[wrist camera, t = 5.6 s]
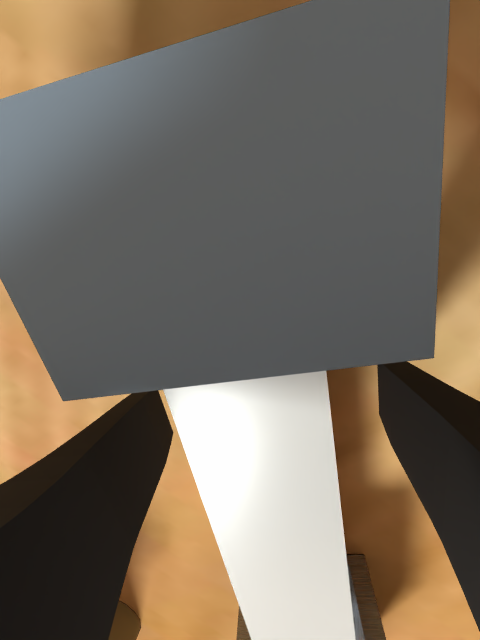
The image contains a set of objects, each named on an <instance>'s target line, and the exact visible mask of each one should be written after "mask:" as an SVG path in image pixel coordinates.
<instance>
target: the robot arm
mask: <svg viewBox="0 0 480 640" xmlns="http://www.w3.org/2000/svg"><path fill="white" fill-rule="evenodd" d="M378 393H379V415H380V417H381V420H382V423H383V425H384V428H385V431H386V433H387V436H388V438H389V441H390V443H391V446H392V447H393V449H394V451H395V453H396V455H397V457H398V459H399V461H400V463H401V465H402V467H403V468H404V470H405V472H406V474H407V476H408V478H409V480H410V482H411V483H412V485H413V487H414V489H415V491H416V493H417V495H418V496H419V498H420V500H421V502H422V504H423V506H424V508H425V510H426V511H427V513H428V515H429V517H430V519H431V521H432V523H433V525H434V527H435V529H436V531H437V533H438V535H439V537H440V539H441V541H442V543H443V546H444V548H445V550H446V553H447V555H448V557H449V560H450V562H451V564H452V567H453V569H454V571H455V574H456V576H457V578H458V581H459V583H460V585H461V588H462V590H463V592H464V595H465V597H466V600H467V602H468V605H469V607H470V609H471V612H472V614H473V617H474V619H475V621H476V624H477V626H478V629H479V631H480V401H478V400H476V399H474V398H472V397H470V396H468V395H466V394H464V393H462V392H460V391H459V390H457V389H455V388H453V387H451V386H449V385H448V384H446V383H444V382H442V381H440V380H439V379H437V378H435V377H433V376H432V375H430V374H428V373H426V372H424V371H423V370H421V369H419V368H418V367H416V366H414V365H412V364H410V363H409V362H407V361H404V362H396V363H387V364H379V365H378ZM172 436H173V430H172V428H171V425H170V422H169V419H168V417H167V414H166V411H165V408H164V405H163V403H162V400H161V397H160V394H159V392H158V390H155V391H147V392H138V393H132V394H130V395H129V396H127V397H126V398H125V399H123V400H122V401H121V402H119V403H118V404H117V405H115V406H114V407H113V408H111V409H110V410H109V411H107V412H106V413H105V414H104V415H102V416H101V417H100V418H98V419H97V420H96V421H94V422H93V423H92V424H90V425H89V426H88V427H86V428H85V429H84V430H82V431H81V432H79V433H78V434H77V435H75V436H74V437H73V438H71V439H70V440H68V441H67V442H66V443H64V444H63V445H61V446H60V447H59V448H57V449H56V450H54V451H53V452H52V453H50V454H49V455H47V456H46V457H44V458H43V459H41V460H40V461H38V462H36V463H35V464H33V465H32V466H30V467H29V468H27V469H25V470H24V471H22V472H21V473H19V474H17V475H16V476H14V477H13V478H11V479H9V480H8V481H6V482H4V483H2V484H1V485H0V640H109V636H110V632H111V628H112V624H113V620H114V616H115V613H116V609H117V605H118V601H119V597H120V594H121V590H122V586H123V583H124V579H125V576H126V572H127V569H128V566H129V562H130V559H131V555H132V552H133V548H134V546H135V543H136V540H137V537H138V534H139V531H140V529H141V526H142V524H143V521H144V518H145V516H146V513H147V511H148V508H149V506H150V503H151V500H152V498H153V495H154V493H155V490H156V488H157V485H158V482H159V480H160V477H161V475H162V472H163V469H164V467H165V464H166V461H167V457H168V453H169V449H170V445H171V441H172Z"/></svg>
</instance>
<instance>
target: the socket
mask: <svg viewBox="0 0 480 640" xmlns="http://www.w3.org/2000/svg"><path fill="white" fill-rule="evenodd" d="M449 12H450V0H311V1H308V2H305V3H302V4H299V5H296V6H292V7H289V8H286V9H283V10H280V11H277V12H274V13H270V14H267V15H264V16H261V17H258V18H255V19H252V20H248V21H245V22H242V23H239V24H236V25H233V26H229V27H226V28H223V29H220V30H217V31H214V32H211V33H207V34H204V35H201V36H198V37H195V38H192V39H189V40H185V41H182V42H179V43H176V44H173V45H170V46H167V47H163V48H160V49H157V50H154V51H151V52H148V53H144V54H141V55H138V56H135V57H132V58H129V59H126V60H122V61H119V62H116V63H113V64H110V65H107V66H104V67H100V68H97V69H94V70H91V71H88V72H85V73H81V74H78V75H75V76H72V77H69V78H66V79H63V80H59V81H56V82H53V83H50V84H47V85H44V86H41V87H37V88H34V89H31V90H28V91H25V92H22V93H18V94H15V95H12V96H9V97H6V98H3V99H0V278H1V280H2V282H3V284H4V286H5V288H6V290H7V292H8V294H9V296H10V298H11V300H12V302H13V304H14V306H15V308H16V310H17V312H18V314H19V316H20V318H21V320H22V322H23V324H24V326H25V328H26V329H27V331H28V333H29V335H30V337H31V339H32V341H33V343H34V345H35V347H36V349H37V351H38V353H39V355H40V357H41V359H42V361H43V363H44V365H45V367H46V369H47V371H48V373H49V375H50V377H51V379H52V381H53V383H54V384H55V386H56V388H57V390H58V392H59V394H60V396H61V398H62V400H63V401H70V400H78V399H87V398H95V397H104V396H113V395H121V394H130V393H138V392H147V391H155V390H164V389H173V388H181V387H190V386H198V385H207V384H216V383H224V382H233V381H241V380H250V379H258V378H267V377H276V376H284V375H293V374H301V373H310V372H319V371H327V370H336V369H344V368H353V367H361V366H370V365H379V364H387V363H396V362H404V361H413V360H422V359H430V358H434V347H435V324H436V302H437V280H438V257H439V235H440V213H441V190H442V168H443V146H444V123H445V101H446V79H447V56H448V34H449Z"/></svg>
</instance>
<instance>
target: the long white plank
mask: <svg viewBox="0 0 480 640" xmlns="http://www.w3.org/2000/svg"><path fill="white" fill-rule="evenodd" d="M164 393H165V396H166V399H167V402H168V405H169V407H170V410H171V413H172V416H173V419H174V422H175V424H176V427H177V430H178V433H179V436H180V439H181V441H182V444H183V447H184V450H185V453H186V456H187V458H188V461H189V464H190V467H191V470H192V473H193V475H194V478H195V481H196V484H197V487H198V490H199V492H200V495H201V498H202V501H203V504H204V507H205V510H206V512H207V515H208V518H209V521H210V524H211V527H212V529H213V532H214V535H215V538H216V541H217V544H218V546H219V549H220V552H221V555H222V558H223V561H224V563H225V566H226V569H227V572H228V575H229V578H230V580H231V583H232V586H233V589H234V592H235V595H236V597H237V600H238V603H239V606H240V609H241V612H242V615H243V617H244V620H245V623H246V626H247V629H248V632H249V634H250V637H251V640H356V639H355V630H354V621H353V612H352V603H351V594H350V584H349V575H348V566H347V557H346V548H345V538H344V529H343V520H342V511H341V502H340V493H339V483H338V474H337V465H336V456H335V447H334V438H333V428H332V419H331V410H330V401H329V392H328V383H327V373H326V371H319V372H310V373H301V374H293V375H284V376H276V377H267V378H258V379H250V380H241V381H233V382H224V383H216V384H207V385H198V386H190V387H181V388H173V389H164Z"/></svg>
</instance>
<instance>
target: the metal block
mask: <svg viewBox="0 0 480 640" xmlns="http://www.w3.org/2000/svg"><path fill="white" fill-rule="evenodd" d="M346 557H347V566H348V575H349V584H350V594H351V603H352V612H353V621H354V630H355V639H356V640H386V637H385V633H384V629H383V625H382V622H381V618H380V614H379V610H378V606H377V602H376V598H375V595H374V591H373V587H372V583H371V579H370V575H369V571H368V568H367V564H366V560H365V556H364V555H346ZM237 640H251V637H250V634H249V632H248V629H247V626H246V623H245V620H244V617H243V615H242V612H241V609H240V606H239V615H238V628H237Z"/></svg>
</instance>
